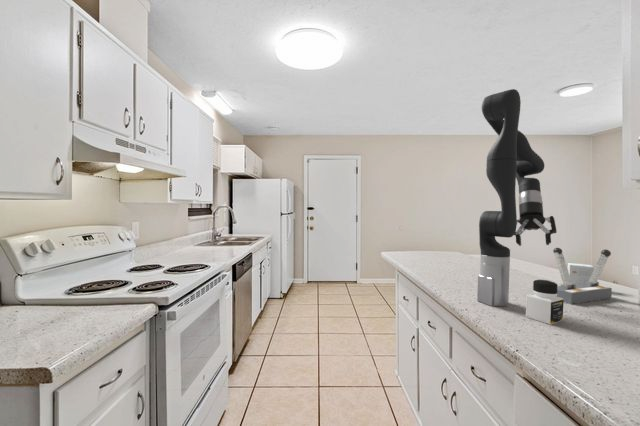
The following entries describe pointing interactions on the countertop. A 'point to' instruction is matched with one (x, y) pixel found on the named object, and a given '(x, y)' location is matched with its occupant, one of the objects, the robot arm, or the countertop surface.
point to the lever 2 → (599, 266)
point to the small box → (579, 272)
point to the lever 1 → (562, 267)
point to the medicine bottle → (544, 303)
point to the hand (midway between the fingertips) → (533, 244)
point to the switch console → (583, 292)
